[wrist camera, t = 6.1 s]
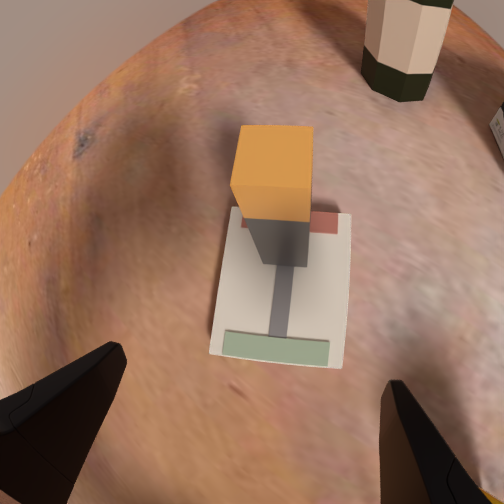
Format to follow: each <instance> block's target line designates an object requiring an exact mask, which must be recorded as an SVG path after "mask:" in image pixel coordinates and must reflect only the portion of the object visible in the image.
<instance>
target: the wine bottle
mask: <svg viewBox="0 0 504 504" xmlns="http://www.w3.org/2000/svg"><path fill="white" fill-rule="evenodd" d="M453 2H454V0H368V8H367V20H366V31H365V41H364V51H363V60H362V68H361V74H362V75H363V77H364V78H365V79H366V81H367V82H368V84H369V85H370V87H371V89H372V90H373V91H376V92H378V93H380V94H383V95H385V96H387V97H389V98H391V99H394V100H396V101H398V102H408V101H422V100H423V99H424V97H425V94H426V92H427V89H428V87H429V84H430V81H431V78H432V75H433V72H434V69H435V66H436V63H437V60H438V56H439V53H440V50H441V47H442V43H443V40H444V36H445V33H446V29H447V25H448V22H449V18H450V14H451V10H452V6H453Z"/></svg>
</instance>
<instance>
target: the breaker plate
mask: <svg viewBox="0 0 504 504" xmlns="http://www.w3.org/2000/svg"><path fill="white" fill-rule="evenodd" d="M350 255H351V214H344V213H331V212H318V211H311V220H310V236H309V250H308V263H307V267H294V266H282V265H270V264H263V262H262V260H261V258H260V255H259V253H258V251H257V248H256V246H255V243H254V241H253V239H252V236H251V234H250V231H249V229H248V227H247V224H246V222H245V220H244V217H243V215H242V212H241V210H240V208H239V207H232V209H231V214H230V220H229V226H228V232H227V238H226V244H225V250H224V256H223V263H222V269H221V275H220V281H219V288H218V294H217V301H216V307H215V314H214V321H213V328H212V334H211V341H210V348H209V354H213V355H220V356H226V357H233V358H240V359H247V360H254V361H262V362H270V363H279V364H289V365H299V366H310V367H323V368H338V369H342V364H343V355H344V345H345V335H346V324H347V311H348V297H349V279H350Z"/></svg>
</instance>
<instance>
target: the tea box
mask: <svg viewBox="0 0 504 504" xmlns="http://www.w3.org/2000/svg"><path fill="white" fill-rule="evenodd" d="M489 125H490V127H491V130H492V132H493V134H494V136H495V139H496V141H497V144H498V146H499V148H500V151H501V153H502V156H503V158H504V102H503V104H502V106H501V107H500V108H499V110H498V111H497V113H496V114H495V116H494V117H493V119H492V121H491V122H490V124H489Z"/></svg>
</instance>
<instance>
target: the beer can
mask: <svg viewBox="0 0 504 504" xmlns="http://www.w3.org/2000/svg"><path fill="white" fill-rule="evenodd" d="M479 488H480V487H479ZM480 490H481V491H482V492H483V493H484V494H485V496H486V497H487V498H488V499H489V500H490V501H491V503H492V504H504V502H502V501H501V500H499V499H498V498H496V497H494V496H493V495H491V494H490V493H488V492H487V491H485V490H484V489H482V488H480Z"/></svg>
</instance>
